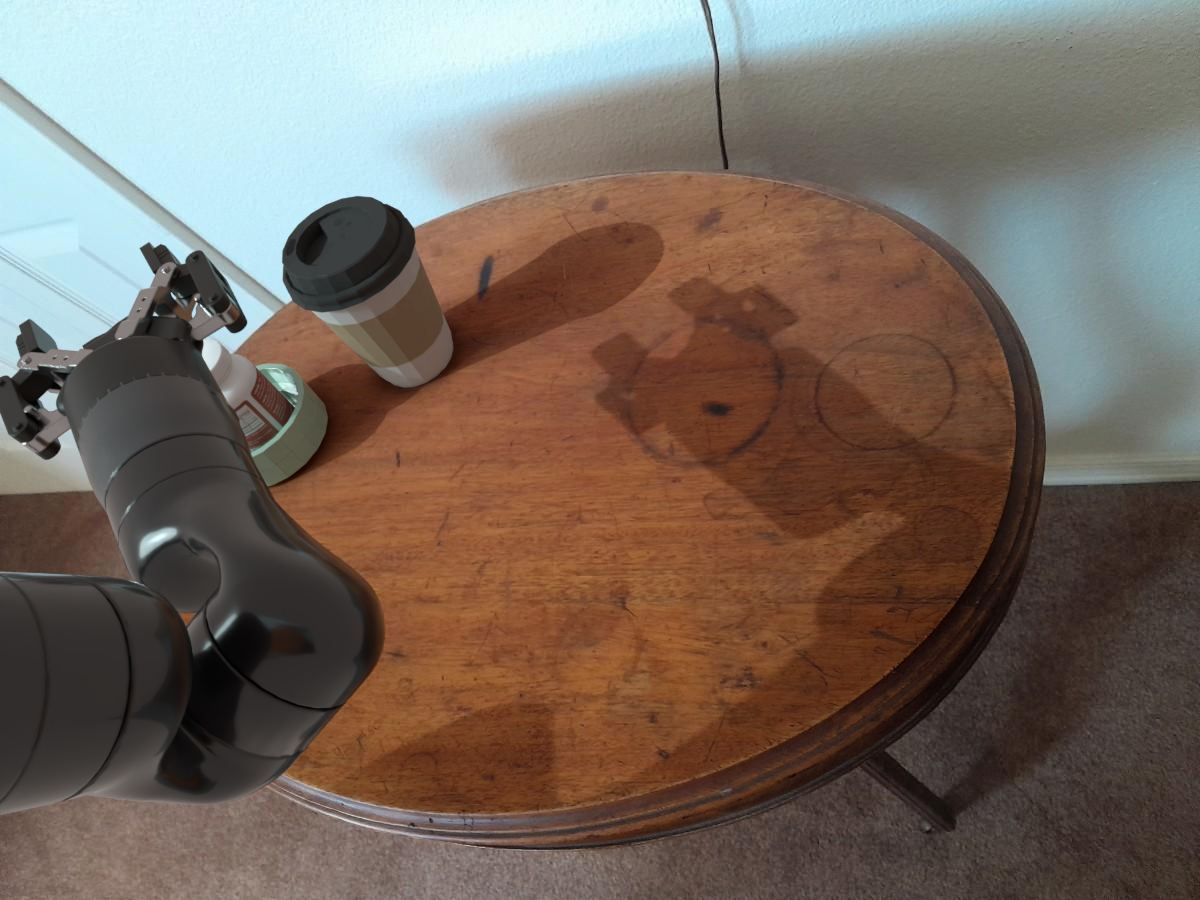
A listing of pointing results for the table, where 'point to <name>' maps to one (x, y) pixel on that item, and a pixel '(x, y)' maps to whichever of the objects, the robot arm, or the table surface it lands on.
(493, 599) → the table surface
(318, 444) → the bowl
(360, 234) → the coffee cup
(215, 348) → the pill bottle
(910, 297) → the table surface
